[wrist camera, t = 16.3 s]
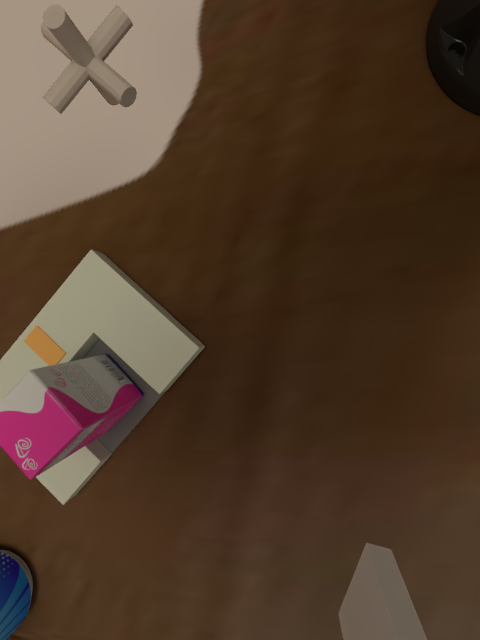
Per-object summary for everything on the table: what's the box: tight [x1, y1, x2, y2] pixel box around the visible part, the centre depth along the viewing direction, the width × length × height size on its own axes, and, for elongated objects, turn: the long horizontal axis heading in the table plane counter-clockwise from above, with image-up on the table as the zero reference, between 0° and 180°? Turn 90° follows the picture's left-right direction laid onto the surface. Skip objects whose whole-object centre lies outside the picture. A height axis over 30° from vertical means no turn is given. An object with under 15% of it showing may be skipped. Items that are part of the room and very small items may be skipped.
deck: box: [0, 250, 205, 505], centre depth 37 cm, size 14×20×3 cm
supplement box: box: [0, 354, 144, 480], centre depth 32 cm, size 6×6×12 cm
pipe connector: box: [41, 5, 137, 113], centre depth 33 cm, size 10×10×10 cm
